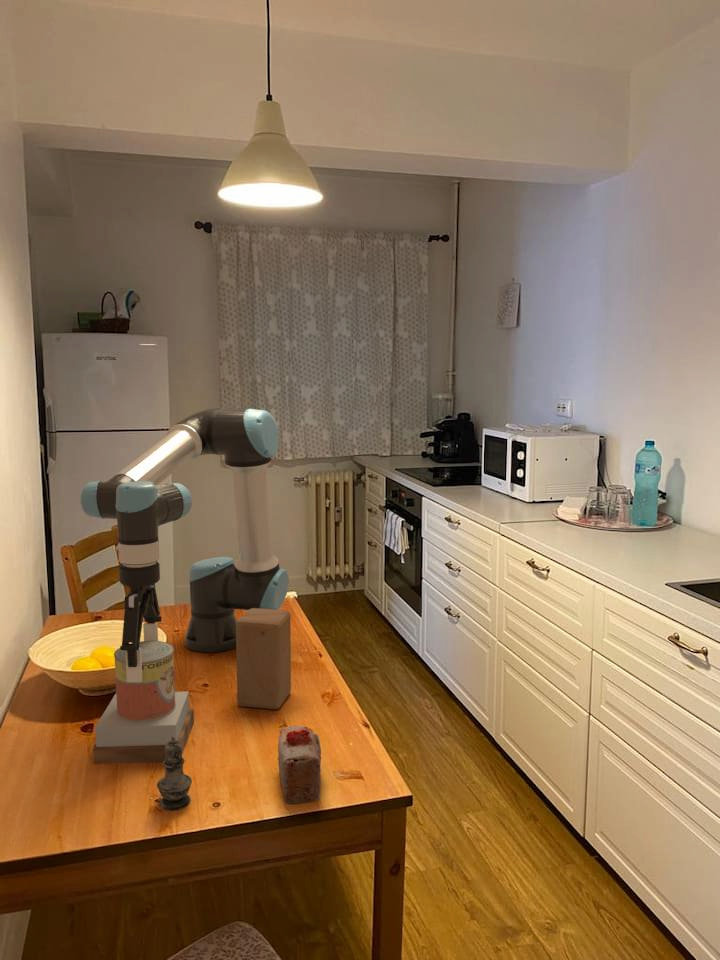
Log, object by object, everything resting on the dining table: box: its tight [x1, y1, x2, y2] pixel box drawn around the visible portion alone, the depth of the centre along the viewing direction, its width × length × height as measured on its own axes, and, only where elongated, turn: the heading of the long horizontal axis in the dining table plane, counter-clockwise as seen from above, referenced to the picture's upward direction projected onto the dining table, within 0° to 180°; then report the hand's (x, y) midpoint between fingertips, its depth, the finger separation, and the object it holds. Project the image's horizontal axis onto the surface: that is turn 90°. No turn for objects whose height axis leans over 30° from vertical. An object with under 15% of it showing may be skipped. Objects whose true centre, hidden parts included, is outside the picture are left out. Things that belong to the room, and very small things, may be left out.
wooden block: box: [235, 608, 292, 710], centre depth 168 cm, size 10×10×20 cm
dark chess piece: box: [156, 737, 193, 812], centre depth 128 cm, size 6×6×12 cm
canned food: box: [113, 640, 176, 722], centre depth 148 cm, size 11×11×12 cm
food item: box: [277, 725, 322, 804], centre depth 135 cm, size 14×8×10 cm, turn 11°
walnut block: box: [92, 708, 195, 765], centre depth 150 cm, size 16×16×4 cm
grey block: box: [94, 691, 190, 747], centre depth 149 cm, size 15×15×4 cm
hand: (143, 667), depth 147 cm, fingers open, 13 cm apart
